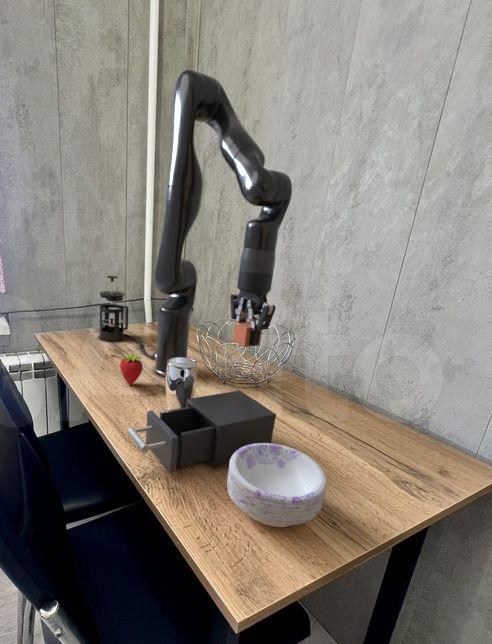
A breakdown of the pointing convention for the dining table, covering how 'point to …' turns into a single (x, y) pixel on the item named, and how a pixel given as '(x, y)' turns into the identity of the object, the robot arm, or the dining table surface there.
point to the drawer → (177, 437)
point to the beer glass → (180, 381)
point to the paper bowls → (276, 484)
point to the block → (243, 333)
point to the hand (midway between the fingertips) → (246, 341)
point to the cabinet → (234, 422)
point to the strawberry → (131, 368)
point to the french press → (109, 330)
